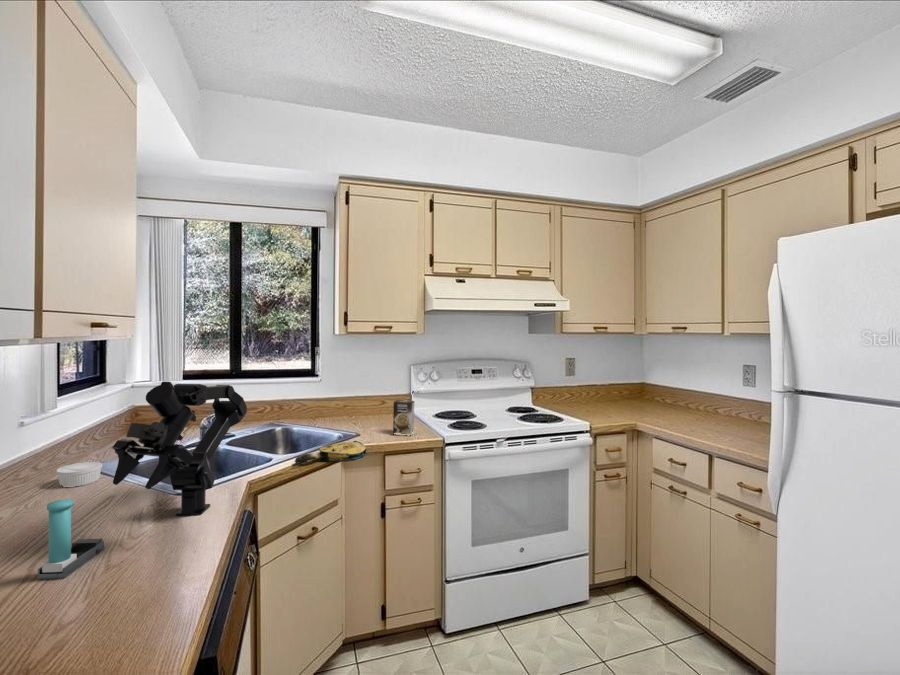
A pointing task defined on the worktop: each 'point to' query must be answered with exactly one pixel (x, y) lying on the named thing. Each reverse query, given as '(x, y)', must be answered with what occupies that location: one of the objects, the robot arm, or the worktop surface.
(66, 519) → the teal tall cylinder
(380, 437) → the worktop surface
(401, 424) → the coffee box
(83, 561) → the track
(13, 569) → the worktop surface
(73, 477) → the ramekin
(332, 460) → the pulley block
